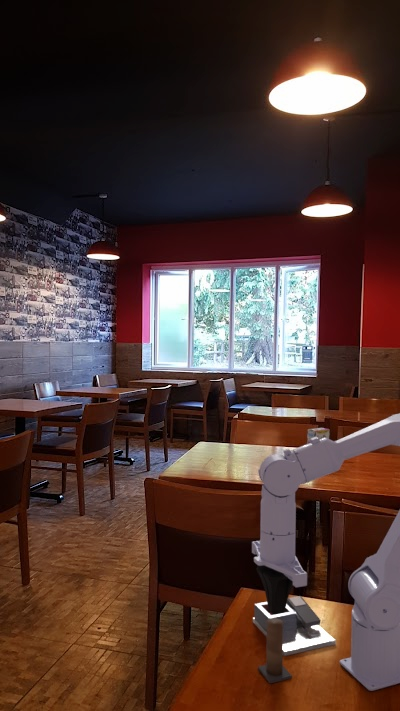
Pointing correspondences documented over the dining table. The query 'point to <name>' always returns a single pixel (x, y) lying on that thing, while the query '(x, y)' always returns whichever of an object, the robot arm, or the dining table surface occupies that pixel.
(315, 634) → the panel
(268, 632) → the dowel
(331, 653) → the dining table surface
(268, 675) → the pad
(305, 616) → the block
